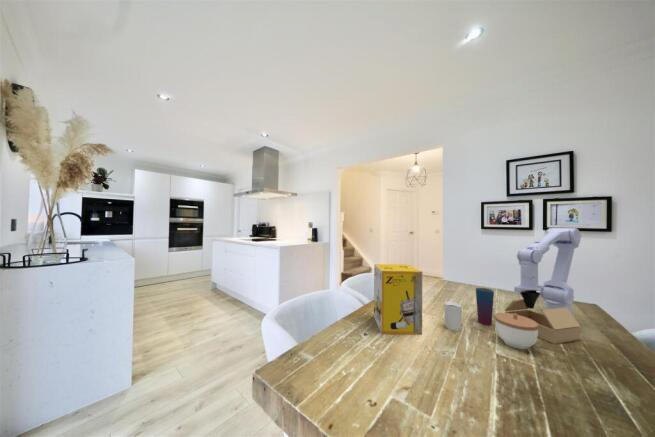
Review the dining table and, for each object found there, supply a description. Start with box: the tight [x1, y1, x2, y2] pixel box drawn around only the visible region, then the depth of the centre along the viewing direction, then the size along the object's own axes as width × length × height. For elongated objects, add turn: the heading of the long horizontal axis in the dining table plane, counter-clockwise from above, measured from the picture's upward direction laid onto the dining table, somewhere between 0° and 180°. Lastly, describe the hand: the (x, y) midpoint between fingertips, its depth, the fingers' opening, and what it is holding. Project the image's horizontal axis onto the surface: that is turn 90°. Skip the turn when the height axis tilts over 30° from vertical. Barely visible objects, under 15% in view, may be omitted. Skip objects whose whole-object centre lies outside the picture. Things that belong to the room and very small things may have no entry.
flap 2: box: [540, 308, 581, 330], centre depth 87 cm, size 13×7×1 cm
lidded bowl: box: [493, 312, 539, 350], centre depth 83 cm, size 13×13×11 cm
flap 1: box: [504, 298, 530, 312], centre depth 101 cm, size 13×7×1 cm
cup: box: [475, 286, 495, 326], centre depth 101 cm, size 7×7×15 cm
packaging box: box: [373, 263, 423, 335], centre depth 98 cm, size 16×16×25 cm
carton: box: [504, 309, 581, 345], centre depth 94 cm, size 14×18×5 cm
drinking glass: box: [443, 300, 463, 332], centre depth 96 cm, size 7×7×10 cm
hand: (529, 307), depth 97 cm, fingers closed, pressing on flap 1
